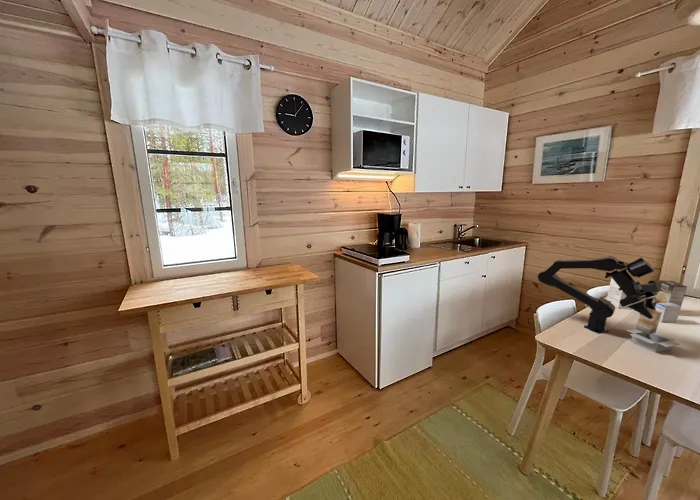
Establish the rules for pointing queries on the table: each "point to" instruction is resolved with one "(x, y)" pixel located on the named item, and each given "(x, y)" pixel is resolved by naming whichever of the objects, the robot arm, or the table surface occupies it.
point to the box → (648, 322)
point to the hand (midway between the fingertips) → (654, 317)
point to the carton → (652, 340)
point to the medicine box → (668, 311)
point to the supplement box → (616, 295)
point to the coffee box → (670, 293)
